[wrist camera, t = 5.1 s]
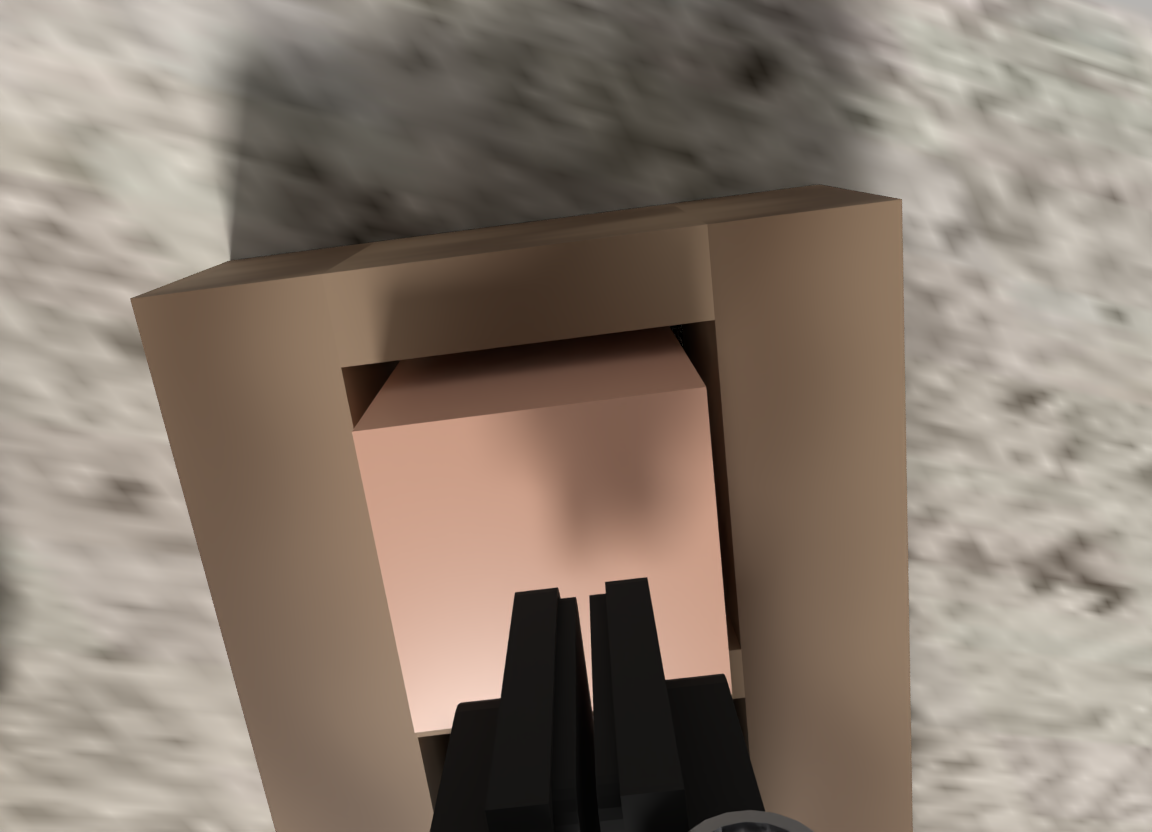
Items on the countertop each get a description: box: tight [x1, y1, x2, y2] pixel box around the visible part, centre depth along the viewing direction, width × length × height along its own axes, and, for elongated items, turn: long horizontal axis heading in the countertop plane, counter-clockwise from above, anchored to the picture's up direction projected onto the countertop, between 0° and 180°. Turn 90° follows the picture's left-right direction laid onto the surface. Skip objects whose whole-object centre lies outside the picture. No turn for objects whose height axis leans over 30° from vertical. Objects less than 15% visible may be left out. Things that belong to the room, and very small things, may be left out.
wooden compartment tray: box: [131, 185, 913, 832], centre depth 20 cm, size 12×23×4 cm, turn 7°
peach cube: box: [352, 326, 732, 733], centre depth 16 cm, size 5×5×5 cm
